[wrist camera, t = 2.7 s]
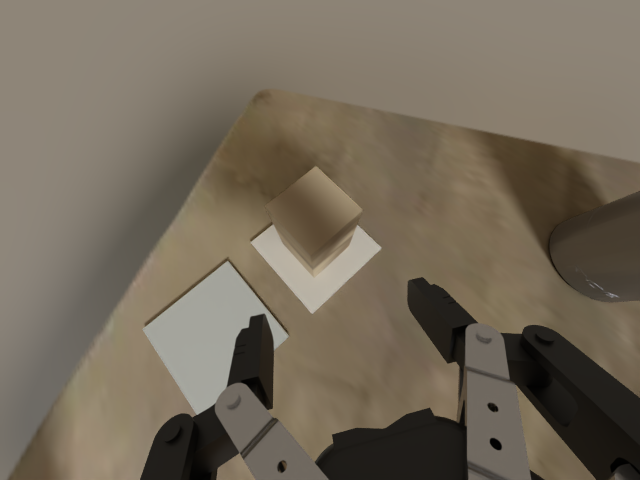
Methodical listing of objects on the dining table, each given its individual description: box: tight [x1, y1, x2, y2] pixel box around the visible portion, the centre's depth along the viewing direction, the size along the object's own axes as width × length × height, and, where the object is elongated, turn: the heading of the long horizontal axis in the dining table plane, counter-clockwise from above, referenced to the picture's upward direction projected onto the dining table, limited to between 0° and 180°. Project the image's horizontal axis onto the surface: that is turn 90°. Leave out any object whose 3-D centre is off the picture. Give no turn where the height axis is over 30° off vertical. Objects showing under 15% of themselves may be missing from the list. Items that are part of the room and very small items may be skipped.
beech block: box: [265, 166, 363, 278], centre depth 21 cm, size 5×5×9 cm
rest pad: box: [143, 261, 289, 415], centre depth 23 cm, size 10×10×1 cm
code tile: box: [250, 224, 381, 314], centre depth 26 cm, size 10×10×1 cm
